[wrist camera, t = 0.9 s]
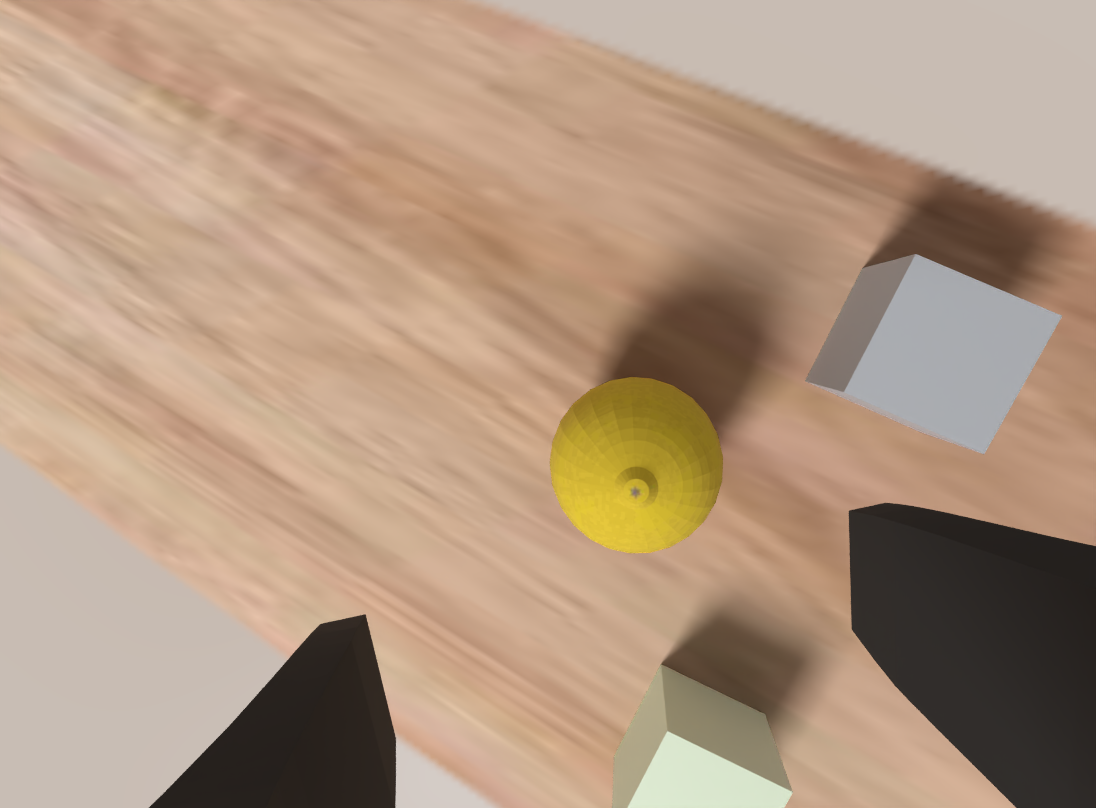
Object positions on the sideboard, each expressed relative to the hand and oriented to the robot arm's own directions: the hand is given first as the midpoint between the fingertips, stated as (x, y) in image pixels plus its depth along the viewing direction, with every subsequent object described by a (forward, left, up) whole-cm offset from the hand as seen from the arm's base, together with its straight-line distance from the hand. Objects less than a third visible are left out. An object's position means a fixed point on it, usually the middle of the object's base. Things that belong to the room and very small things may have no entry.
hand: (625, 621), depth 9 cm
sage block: (-7, +10, -16) cm, 20 cm away
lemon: (0, 0, -16) cm, 16 cm away
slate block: (-7, -7, -16) cm, 19 cm away
